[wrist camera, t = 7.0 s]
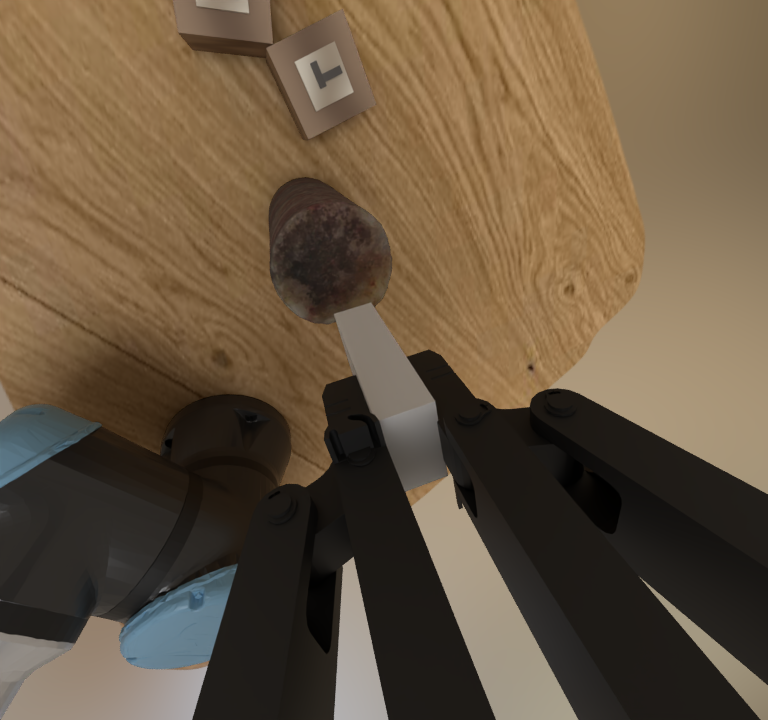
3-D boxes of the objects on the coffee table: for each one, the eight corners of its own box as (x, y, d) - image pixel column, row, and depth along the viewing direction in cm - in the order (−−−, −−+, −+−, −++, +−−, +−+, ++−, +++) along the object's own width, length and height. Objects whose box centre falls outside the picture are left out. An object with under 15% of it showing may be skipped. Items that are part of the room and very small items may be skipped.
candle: (274, 163, 35) (279, 186, 18) (350, 184, 37) (416, 221, 21) (264, 245, 38) (260, 328, 21) (334, 260, 41) (381, 344, 24)
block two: (302, 139, 35) (309, 139, 29) (266, 62, 31) (266, 46, 26) (360, 109, 35) (378, 104, 29) (330, 29, 31) (343, 6, 26)
